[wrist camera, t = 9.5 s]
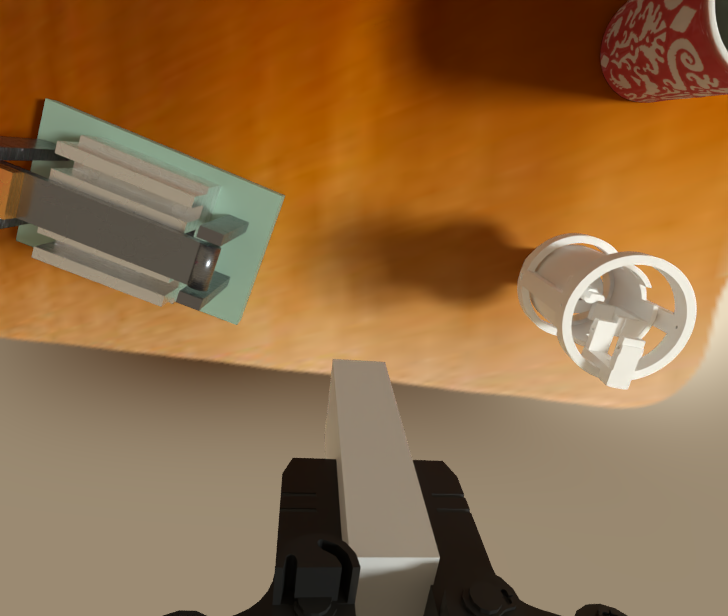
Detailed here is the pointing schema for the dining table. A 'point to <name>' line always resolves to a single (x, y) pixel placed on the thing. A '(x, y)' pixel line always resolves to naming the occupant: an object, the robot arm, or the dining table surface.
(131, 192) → the grey blocky device
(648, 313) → the white plastic part
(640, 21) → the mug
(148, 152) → the mainboard
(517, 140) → the dining table surface
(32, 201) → the grey bar
